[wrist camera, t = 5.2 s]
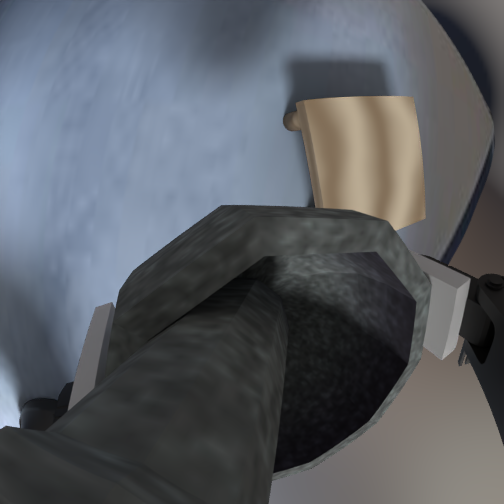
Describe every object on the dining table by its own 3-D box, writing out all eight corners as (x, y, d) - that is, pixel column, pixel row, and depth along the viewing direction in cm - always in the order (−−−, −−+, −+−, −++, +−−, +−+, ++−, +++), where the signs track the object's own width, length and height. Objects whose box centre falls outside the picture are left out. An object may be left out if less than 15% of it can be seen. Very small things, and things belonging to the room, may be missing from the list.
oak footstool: (300, 238, 31) (329, 256, 26) (275, 110, 26) (303, 100, 21) (392, 208, 34) (425, 218, 29) (377, 101, 29) (413, 96, 23)
